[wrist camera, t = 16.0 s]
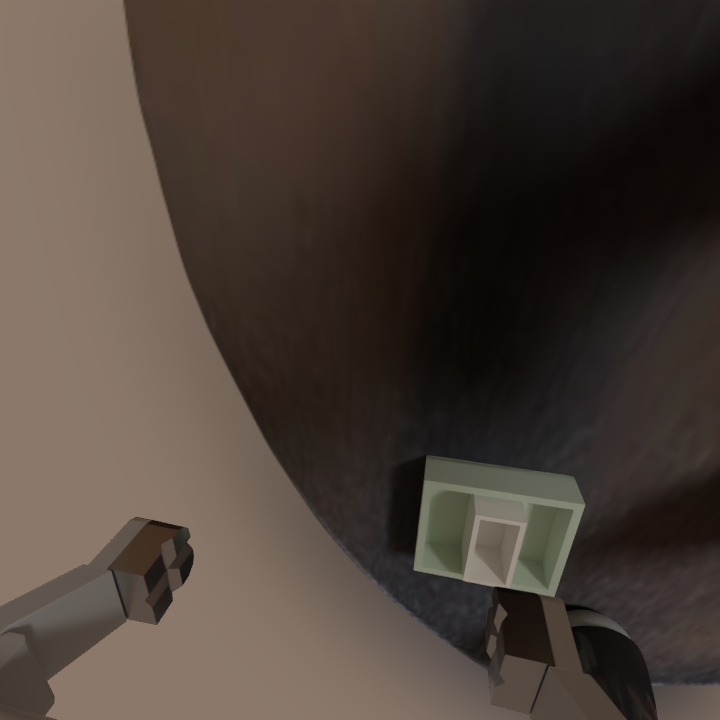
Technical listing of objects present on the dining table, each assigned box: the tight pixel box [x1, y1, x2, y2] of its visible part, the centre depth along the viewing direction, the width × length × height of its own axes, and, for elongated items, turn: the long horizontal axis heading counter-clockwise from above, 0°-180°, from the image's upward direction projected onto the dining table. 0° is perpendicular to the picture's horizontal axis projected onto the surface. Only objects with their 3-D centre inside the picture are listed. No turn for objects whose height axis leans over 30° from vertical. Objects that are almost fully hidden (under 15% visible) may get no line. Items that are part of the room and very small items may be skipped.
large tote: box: [414, 455, 585, 597], centre depth 43 cm, size 15×13×4 cm
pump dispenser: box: [567, 610, 658, 720], centre depth 43 cm, size 10×10×15 cm
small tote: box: [462, 494, 527, 589], centre depth 42 cm, size 5×9×5 cm, turn 178°
